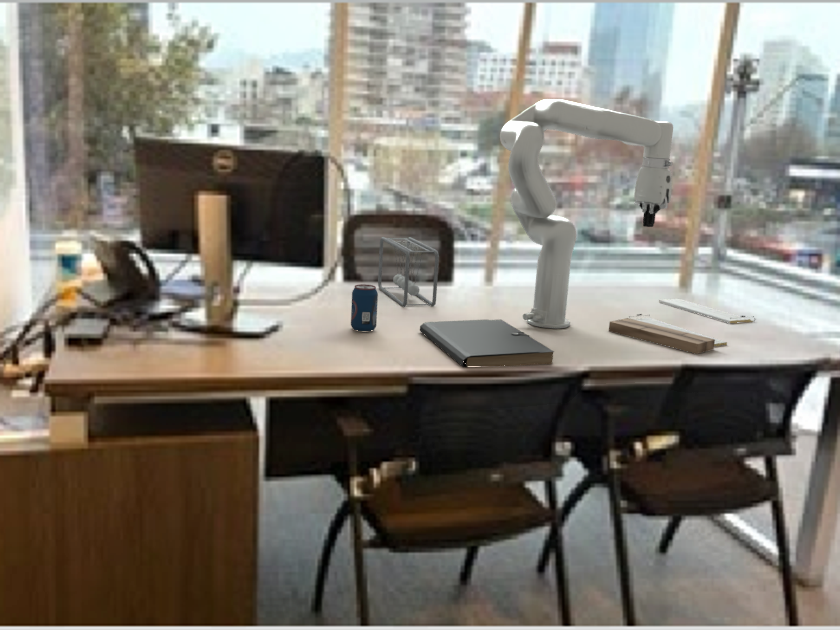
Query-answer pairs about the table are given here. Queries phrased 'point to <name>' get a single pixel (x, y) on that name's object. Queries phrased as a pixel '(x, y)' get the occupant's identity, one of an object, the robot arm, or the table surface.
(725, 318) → the baseboard molding
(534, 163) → the robot arm
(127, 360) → the table surface
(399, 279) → the newton's cradle
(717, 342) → the baseboard
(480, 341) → the dark grey book
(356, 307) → the soda can
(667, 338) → the plank row
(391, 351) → the table surface
